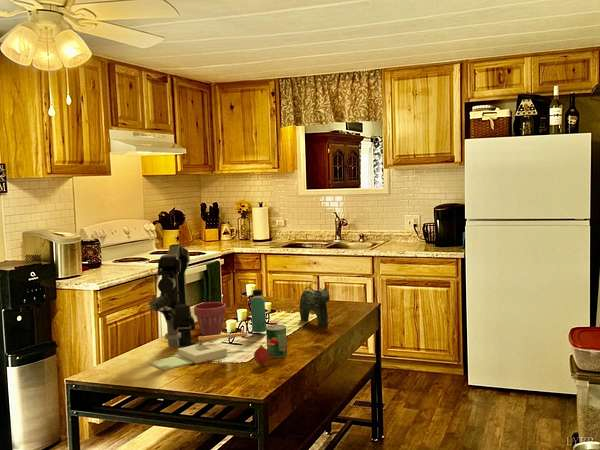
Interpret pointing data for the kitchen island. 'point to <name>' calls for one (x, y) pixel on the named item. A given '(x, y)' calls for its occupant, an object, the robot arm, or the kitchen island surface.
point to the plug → (172, 335)
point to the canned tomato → (276, 340)
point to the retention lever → (222, 336)
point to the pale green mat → (170, 362)
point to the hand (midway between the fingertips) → (172, 329)
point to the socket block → (202, 352)
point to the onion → (261, 356)
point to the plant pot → (210, 317)
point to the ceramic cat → (315, 304)
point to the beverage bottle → (258, 312)
